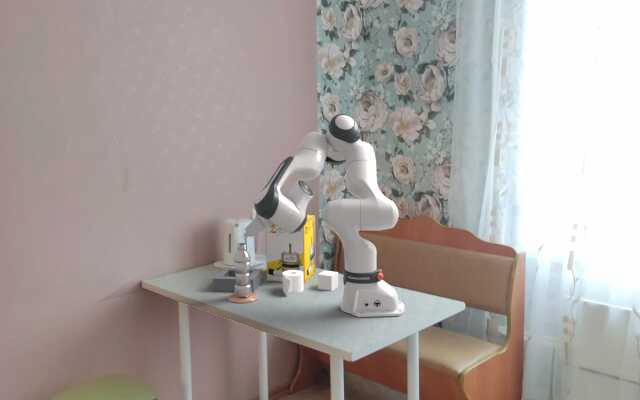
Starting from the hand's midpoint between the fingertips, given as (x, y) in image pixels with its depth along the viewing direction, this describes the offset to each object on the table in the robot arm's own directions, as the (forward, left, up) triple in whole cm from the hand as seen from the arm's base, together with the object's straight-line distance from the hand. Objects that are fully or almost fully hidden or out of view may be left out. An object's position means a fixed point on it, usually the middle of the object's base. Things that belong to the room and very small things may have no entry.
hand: (252, 230), depth 209 cm
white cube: (-26, -15, -26) cm, 40 cm away
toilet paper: (-12, -9, -26) cm, 30 cm away
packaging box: (-9, -29, -26) cm, 40 cm away
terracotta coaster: (+4, +1, -26) cm, 26 cm away
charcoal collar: (+10, -14, -26) cm, 31 cm away
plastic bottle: (+4, 0, -25) cm, 26 cm away
